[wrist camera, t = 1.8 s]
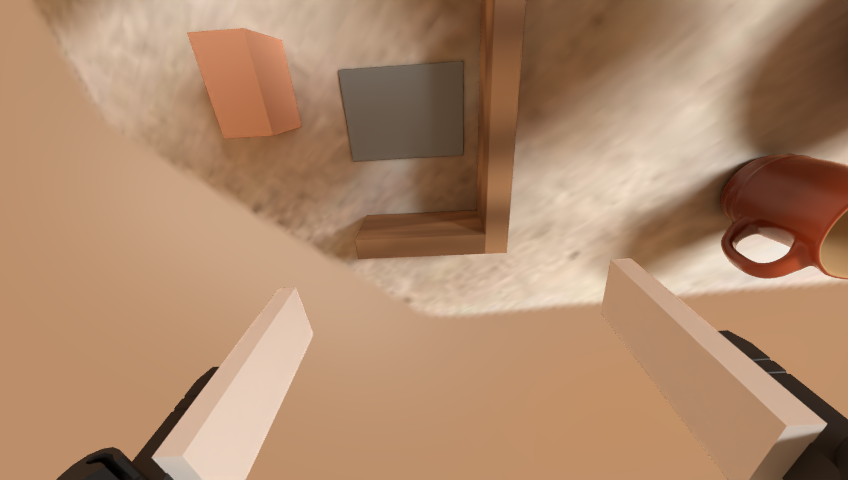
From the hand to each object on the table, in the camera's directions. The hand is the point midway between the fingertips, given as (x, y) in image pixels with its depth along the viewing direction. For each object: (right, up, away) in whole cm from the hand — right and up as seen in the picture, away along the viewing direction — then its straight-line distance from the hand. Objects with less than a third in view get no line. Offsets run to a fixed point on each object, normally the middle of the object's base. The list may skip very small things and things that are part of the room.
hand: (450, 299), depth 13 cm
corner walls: (-1, +13, +16) cm, 21 cm away
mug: (+32, +7, +19) cm, 37 cm away
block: (-15, +17, +15) cm, 27 cm away
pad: (-3, +14, +15) cm, 21 cm away
